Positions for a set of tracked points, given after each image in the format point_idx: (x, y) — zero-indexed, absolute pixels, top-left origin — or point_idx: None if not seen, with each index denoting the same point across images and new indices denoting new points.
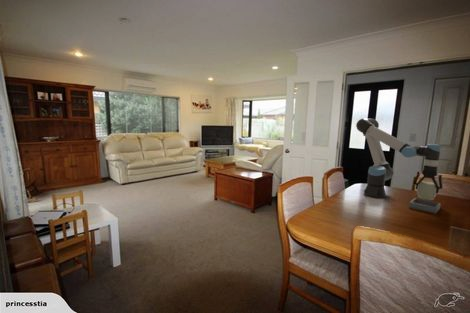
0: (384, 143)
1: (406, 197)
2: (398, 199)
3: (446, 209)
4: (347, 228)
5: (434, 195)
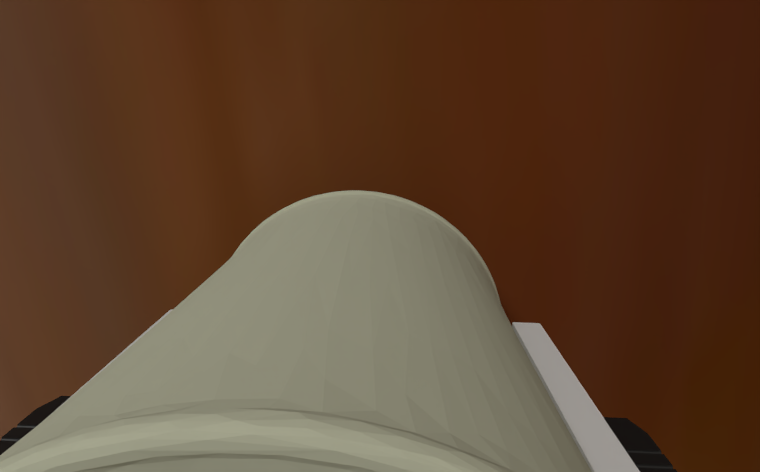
0: None
1: (63, 212)
2: None
3: None
4: None
5: None
